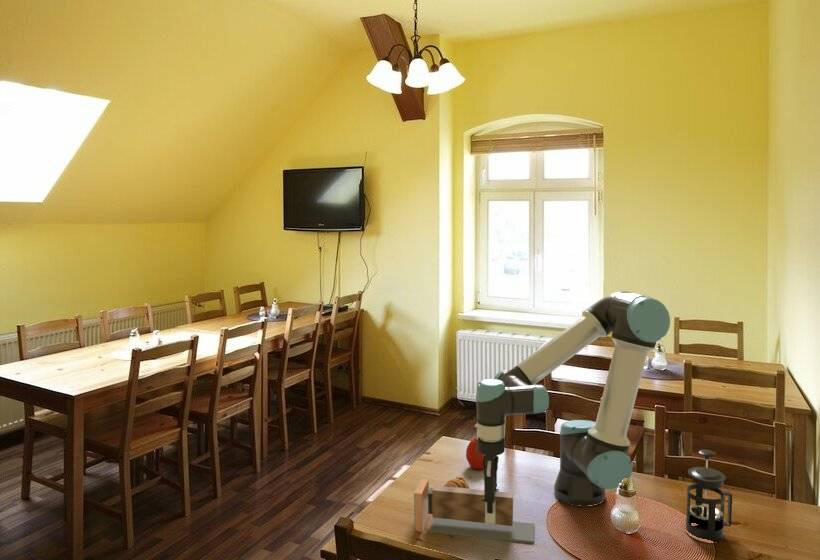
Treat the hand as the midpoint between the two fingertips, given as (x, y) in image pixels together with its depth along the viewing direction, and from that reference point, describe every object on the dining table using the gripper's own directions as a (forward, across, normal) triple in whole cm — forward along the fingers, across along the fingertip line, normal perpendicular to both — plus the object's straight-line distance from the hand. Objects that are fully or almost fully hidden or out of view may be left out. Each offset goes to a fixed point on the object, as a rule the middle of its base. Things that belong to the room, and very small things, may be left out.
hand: (490, 519), depth 160 cm
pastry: (+4, -20, -13) cm, 25 cm away
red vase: (+3, -39, -8) cm, 40 cm away
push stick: (+1, 0, -5) cm, 5 cm away
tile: (+3, 0, -19) cm, 20 cm away
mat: (+3, 0, -2) cm, 4 cm away
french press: (+3, -9, +57) cm, 57 cm away
